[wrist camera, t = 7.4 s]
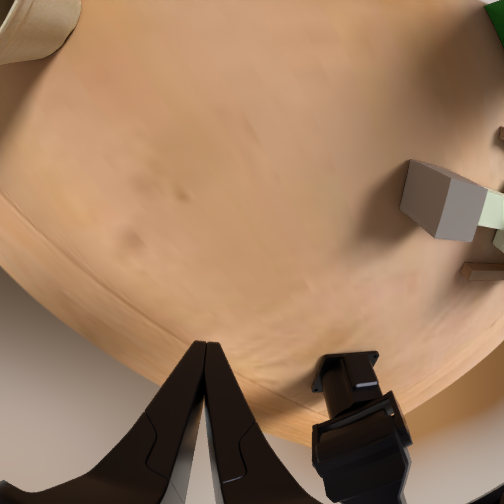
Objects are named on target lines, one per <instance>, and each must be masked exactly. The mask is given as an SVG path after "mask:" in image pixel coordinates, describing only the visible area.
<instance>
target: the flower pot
mask: <svg viewBox="0 0 504 504" xmlns="http://www.w3.org/2000/svg"><path fill="white" fill-rule="evenodd" d="M80 11H81V1H80V0H0V65H3V64H8V63H14V62H20V61H28V60H38V59H42V58H44V57H47V56H48V55H50V54H52V53H53V52H55V51H56V50H57V49H58V48H59V47H61V46H62V45H63V43H64V41H65V39H66V38H67V36H68V35H69V34H70V32H71V31H72V30H73V29H74V28H75V26H76V24H77V22H78V19H79V16H80Z"/></svg>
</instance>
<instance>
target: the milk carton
mask: <svg viewBox="0 0 504 504" xmlns="http://www.w3.org/2000/svg"><path fill="white" fill-rule="evenodd" d="M484 7H485V9H486V11H487V12H488V14H489V16H490V18H491V20H492V22H493V25H494V27H495V29H496V31H497V33H498V35H499V38H500V40H501V42H502V45H503V47H504V0H499V1H497V2H494V3H491V4H488V5H485V6H484Z"/></svg>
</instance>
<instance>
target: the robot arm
mask: <svg viewBox="0 0 504 504" xmlns="http://www.w3.org/2000/svg"><path fill="white" fill-rule="evenodd" d="M378 357H379V353H378V352H377V351H371V352H360V353H347V354H331V355H326V356H324V358H323V360H322V363H321V365H320V368H319V370H318V373H317V375H316V378H315V380H314V383H313V385H312V387H311V389H312V392H323V394H324V398H325V402H326V406H327V410H328V414H329V418H330V420H328V421H325V422H323V423H320V424H315V425H313V426H312V429H313V432H312V462H313V463H312V465H313V467H314V468H315V469H316V471H317V473H318V474H319V476H320V477H321V478H323V481H324V486H325V491H326V496H327V497H328V498H329V499H330V500H331V501H332V502H333V503H337V502H340V503H341V504H407V503H406V499H405V496H404V493H403V491H404V487H405V484H406V481H407V477H408V474H409V470H410V466H411V459H410V455H409V452H408V449H407V447H408V446H410V445H412V444H413V442H412V439H411V436H410V433H409V429H408V426H407V423H406V421H405V418H404V415H403V413H402V410H401V408H400V406H399V403H398V402H397V400H396V398H395V396H394V394H393V392H392V390H391V391H389V392H387V394H385V395H383V394H382V392H381V389H380V387H379V384H378V383H379V381H378V379H377V376H376V374H375V372H374V369H373V366H374V365H375V363H376V361H377V359H378ZM203 402H204V405H205V417H206V427H207V437H208V446H209V455H210V463H211V471H212V479H213V485H214V492H215V500H216V504H322V503H321V502H319V501H318V500H316V499H315V498H313V497H311V496H310V495H309V494H308V493H307V492H306V491H305V490H304V489H303V488H302V487H301V486H300V485H299V484H298V483H297V481H296V480H295V479H294V478H293V476H292V475H291V474H290V473H289V471H288V470H287V469H286V467H285V466H284V465H283V463H282V462H281V461H280V459H279V458H278V457H277V455H276V454H275V452H274V451H273V449H272V448H271V447H270V445H269V444H268V442H267V440H266V438H265V437H264V435H263V433H262V431H261V429H260V427H259V425H258V423H257V422H256V420H255V418H254V416H253V414H252V412H251V409H250V407H249V405H248V403H247V401H246V399H245V397H244V395H243V393H242V391H241V389H240V387H239V384H238V382H237V380H236V378H235V376H234V374H233V372H232V369H231V367H230V365H229V363H228V361H227V358H226V356H225V354H224V352H223V349H222V347H221V345H220V343H219V342H207V343H206V341H198V340H195V341H194V342H193V343H192V344H191V346H190V347H189V349H188V350H187V351H186V353H185V354H184V356H183V357H182V359H181V360H180V361H179V363H178V364H177V366H176V367H175V368H174V370H173V371H172V373H171V374H170V375H169V377H168V378H167V380H166V381H165V382H164V384H163V385H162V387H161V388H160V390H159V391H158V392H157V394H156V395H155V397H154V398H153V400H152V401H151V402H150V404H149V405H148V406H147V408H146V409H145V412H143V413H142V415H141V416H140V417H139V419H138V420H137V422H136V423H135V424H134V425H133V427H132V428H131V429H130V431H129V432H128V433H127V434H126V435H125V436H124V437H123V438H122V439H121V441H120V442H119V443H118V444H117V445H116V446H115V447H114V448H113V449H112V450H111V451H110V452H109V453H108V454H107V455H106V456H105V457H104V458H103V459H102V460H101V461H100V462H99V463H98V464H97V465H96V466H95V467H94V468H93V469H91V470H90V471H89V472H87V473H86V474H84V475H82V476H80V477H77V478H75V479H72V480H70V481H68V482H65V483H63V484H60V485H57V486H55V487H52V488H49V489H46V490H44V491H40V492H33V493H30V492H25V491H22V490H20V489H19V488H17V487H15V486H13V485H12V484H9V483H8V482H6V481H5V480H2V481H0V504H185V500H186V494H187V488H188V483H189V477H190V471H191V466H192V461H193V456H194V450H195V445H196V440H197V434H198V429H199V424H200V419H201V413H202V408H203ZM393 413H394V415H392V416H391V414H393ZM467 504H504V483H502V484H501V485H499V486H497V487H496V488H494V489H492V490H491V491H489V492H487V493H486V494H484V495H482V496H480V497H478V498H476V499H474V500H472V501H470V502H468V503H467Z"/></svg>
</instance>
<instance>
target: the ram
mask: <svg viewBox="0 0 504 504" xmlns="http://www.w3.org/2000/svg"><path fill="white" fill-rule="evenodd" d="M399 209H400V210H401V211H402V212H404V213H405V214H406V215H407V216H409V217H410V218H411V219H412V220H413V221H415V222H416V223H417V224H418V225H420V226H421V227H422V228H423V229H424V230H425V231H427V232H428V233H429V234H430V235H431V236H432V237H434V238H437V239H446V240H455V241H464V242H472V240H473V238H474V235H475V232H476V229H477V226H478V225H480V226H485V227H490V228H495V229H497V232H496V235H495V238H494V241H493V243H492V244H493V245H494V246H496V247H497V248H498V249H499V250H501V251H502V252H503V253H504V193H501V192H498V191H495V190H492V189H489V188H487V187H484V186H481V185H479V184H477V183H475V182H473V181H471V180H469V179H467V178H465V177H463V176H461V175H459V174H457V173H454V172H452V171H450V170H448V169H445V168H442V167H438V166H434V165H431V164H427V163H423V162H420V161H416V160H412V159H410V164H409V169H408V174H407V179H406V183H405V187H404V192H403V196H402V200H401V204H400V208H399Z"/></svg>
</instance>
